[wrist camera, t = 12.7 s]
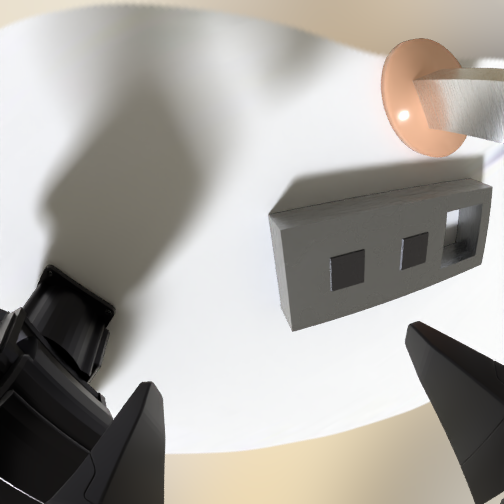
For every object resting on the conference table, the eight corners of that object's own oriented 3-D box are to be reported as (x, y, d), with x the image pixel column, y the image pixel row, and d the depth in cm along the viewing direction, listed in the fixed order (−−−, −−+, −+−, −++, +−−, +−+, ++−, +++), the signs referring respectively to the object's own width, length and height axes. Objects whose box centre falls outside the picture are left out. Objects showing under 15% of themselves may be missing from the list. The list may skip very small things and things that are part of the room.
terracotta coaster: (357, 85, 18) (364, 84, 17) (421, 20, 16) (429, 18, 15) (426, 179, 22) (434, 182, 21) (477, 109, 20) (484, 110, 19)
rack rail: (281, 308, 24) (292, 332, 21) (268, 214, 20) (280, 230, 18) (462, 251, 26) (481, 264, 23) (470, 178, 23) (493, 186, 20)
